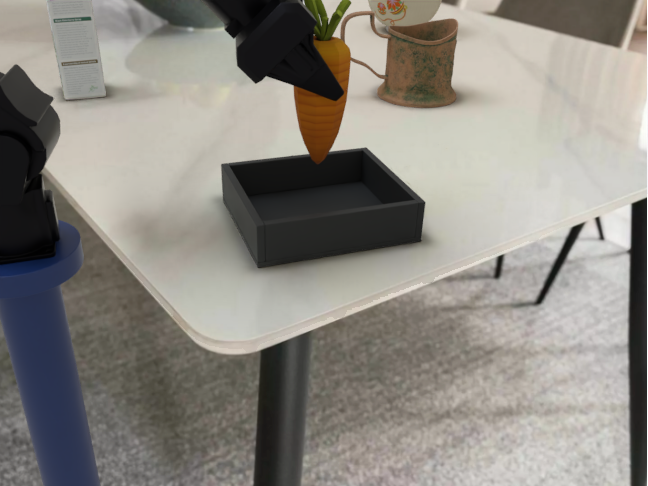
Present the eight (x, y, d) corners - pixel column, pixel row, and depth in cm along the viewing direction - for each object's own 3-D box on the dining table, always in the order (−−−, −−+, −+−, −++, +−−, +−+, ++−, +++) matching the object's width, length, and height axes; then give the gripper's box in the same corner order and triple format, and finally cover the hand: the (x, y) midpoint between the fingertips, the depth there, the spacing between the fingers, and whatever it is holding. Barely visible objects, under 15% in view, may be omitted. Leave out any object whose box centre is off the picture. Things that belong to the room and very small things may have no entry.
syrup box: (107, 97, 95) (92, -13, 88) (63, 101, 93) (44, -11, 86) (102, 85, 100) (88, -20, 93) (60, 88, 98) (42, -18, 90)
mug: (328, 87, 102) (331, 4, 96) (437, 81, 106) (446, 1, 100) (350, 112, 92) (354, 21, 86) (469, 105, 96) (481, 18, 90)
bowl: (345, 29, 136) (347, -24, 131) (398, 19, 146) (402, -31, 141) (405, 45, 126) (410, -12, 121) (458, 33, 136) (464, -20, 131)
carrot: (347, 156, 64) (358, -11, 57) (340, 177, 60) (350, -1, 52) (296, 150, 65) (299, -15, 57) (285, 171, 61) (287, -5, 53)
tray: (257, 268, 57) (256, 226, 55) (222, 200, 68) (220, 163, 66) (421, 241, 62) (425, 201, 60) (364, 182, 73) (366, 147, 71)
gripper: (286, -132, 42) (437, 49, 49) (266, -137, 58) (382, 0, 65) (166, -1, 45) (325, 153, 52) (178, -40, 61) (298, 81, 68)
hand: (335, 88), depth 59 cm, fingers closed on carrot, 5 cm apart
